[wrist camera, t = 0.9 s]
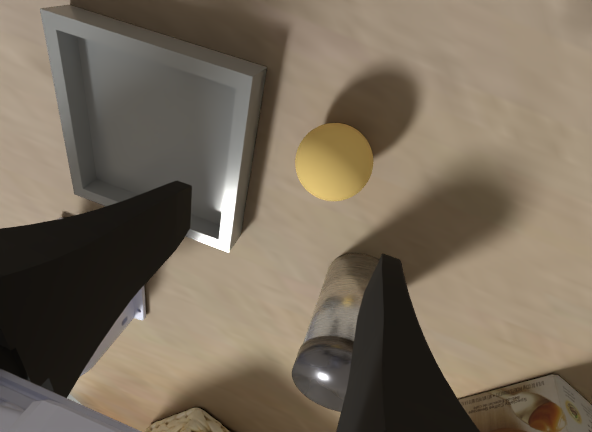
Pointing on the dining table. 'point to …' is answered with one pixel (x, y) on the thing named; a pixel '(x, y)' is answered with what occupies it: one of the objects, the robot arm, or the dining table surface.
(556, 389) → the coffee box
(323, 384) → the shaker cup
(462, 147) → the dining table surface
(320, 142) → the ball
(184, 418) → the storage basket
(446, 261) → the dining table surface
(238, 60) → the dish
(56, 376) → the robot arm
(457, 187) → the dining table surface
